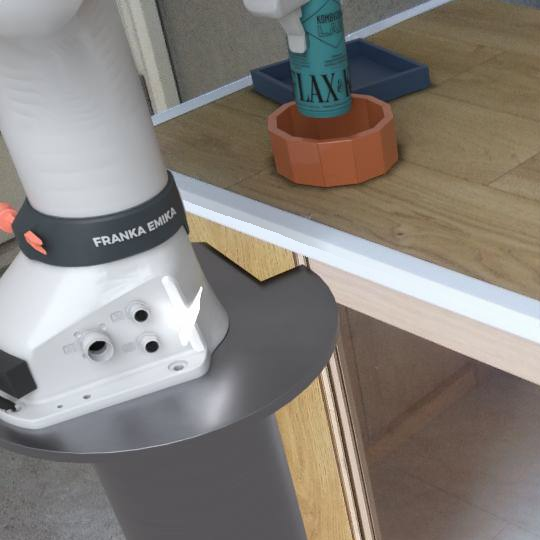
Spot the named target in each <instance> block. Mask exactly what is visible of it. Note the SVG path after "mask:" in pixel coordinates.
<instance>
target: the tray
mask: <svg viewBox="0 0 540 540" xmlns="http://www.w3.org/2000/svg"><path fill="white" fill-rule="evenodd" d="M345 44H346V51H347V52H346V53H348V54H347V62H348V66H349V67H350V69H349V67H348V71H349V80H350V76H351V82H350V87H351V86H352V89H351V91H352V93H351V94H361V95H370V96H373V97H375V98H377V99H379V100H381V101H384V102H386V103H387V102H389V101H392V100H394V99H398V98H400V97H403V96H406V95H409V94H412V93H415V92H418V91H421V90H424V89H426V88H430V87H431V80H430V79H431V77H430V68H429V66H428V65H427V64H424V63H422V62H419V61H417V60H414V59H412V58H410V57H407V56H406V55H403V54H401V53H398V52H395V51H393V50H391V49H389V48H386V47H383V46H381V45H379V44H376V43H373V42H371V41H369V40H367V39H364V38H362V37H357V38H354V39H350V40H347V41H345ZM289 64H290V60H289V59H288V58H286V59H283V60H280V61H277V62H274V63H270V64H267V65H266V64H265V65H264V66H263V65H262V66H260V67H256V68H253V69H250V70H249V72H250V77H251V82H252V86H253V90H254V92H257V93H258V94H260V95H262V96H264V97H266V98H268V99H270V100H272V101H273V102H276V103H278V104H279V105H280V106H282V105H284V104H286V103H289V102H292V101H294V100H295V97H294V95H293V94H294V93H293V91H292V90H293V86H292V84H291V83H292V79H291V73H290V69H291V67H290V66H289Z"/></svg>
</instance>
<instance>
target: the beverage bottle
mask: <svg viewBox="0 0 540 540" xmlns="http://www.w3.org/2000/svg"><path fill="white" fill-rule="evenodd" d="M301 11H302V17H301V18H299V19H300V21H301V24H302V26H303V29H304V31H305V32H308V34H309V41H310V48H309V49H308V50H307V51H305V52H304V53H296V52H292V51H291V50H290V48H289V43H288V37H287V34H286V33H285V39H284V40H285V41H286V42H285V44H286V47H287V48H285V49H286V51H287V52H286V56H287V55H288V56H287V59H289V60H290V64H289V66H290V67H291V69H290V73H291V79H292V83H291V84H292V86H293V90H292V91H293V93H294V94H293V95H294V97H295V100H294V101H296V106H297V108H298V111H299V112H300V113H301V114H302V115H305V116H308V117H314V118H329V117H335V116H339V115H342V114H345V113H347V112H348V111H349V110H350V109H351V105H352V102H353V101H352V98H353V96H352V97H351V93H352V91H351V89H352V86H351V87H350V82H351V76H350V80H349V71H348V67H349V66H348V62H347V54H348V53H346V52H347V51H346V44H345V42H346V35H345V28H346V27H345V25H344V18H345V17H344V14H343V13H344V11H343V6H342V9H341V2H340V0H311V1H309V2H307V3H306V4H304V5H303V6H301ZM349 69H350V67H349ZM294 104H295V103H294Z"/></svg>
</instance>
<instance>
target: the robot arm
mask: <svg viewBox="0 0 540 540" xmlns="http://www.w3.org/2000/svg"><path fill="white" fill-rule="evenodd" d="M309 1H311V0H242V3H243V5H244V7H245V9H246V10H247V11H248V13H249V15H250V16H252V17H254V18H257V19H258V18H259V19H267V20H268V19H269V20H277V21H278V22H279V24H280V26H281V27H282V29H283V31H284V32H285V35H286V34H287V37H288V43H289V48H290V50H291V51H292V52H296V53H304V52H305V51H307V50H308V49H309V48H310V41H309V34H308V32H305V31H304V29H303V26H302V24H301V21H300V19H299V18H301V17H302V11H301V6H303V5H304V4H306V3H307V2H309ZM340 2H341V9H342V10H343V8H342V7H343V3H344V0H340ZM118 6H119V5H118V3H117V0H0V133H1V136H2V138H3V141H4V143H5V146H6V148H7V150H8V153H9V156H10V158H11V161H12V163H13V167H14V168H15V171H16V173H17V175H18V178H19V181H20V183H21V185H22V188H23V190H24V193H25V198H24V200H23V202H22V205H21V207H20V208H19V210H16V209H15V207H13V206H12V205H11V204H9V203H8V202H4V201H3V202H2V201H0V230H1V231H2V232H4V233H7V234H13V236H14V238H15V240H16V242H17V245H18V248H19V249H20V251H19V252H18V254H17V255H16V256H15V258H14V259H13V260H12V262H11V264H10V265H9V266H8V267H7V269H6V270H5V272H4V273H3V274H2V276H1V277H0V419H2V420H3V421H5V422H7V423H10V424H12V425H15V426H18V427H22V428H27V429H41V428H45V427H48V426H51V425H55V424H58V423H61V422H64V421H67V420H70V419H73V418H76V417H79V416H82V415H85V414H88V413H92V412H95V411H98V410H101V409H104V408H107V407H110V406H113V405H116V404H119V403H122V402H125V401H128V400H131V399H135V398H138V397H141V396H144V395H147V394H150V393H153V392H156V391H159V390H162V389H165V388H168V387H171V386H175V385H178V384H181V383H184V382H187V381H190V380H193V379H196V378H199V377H201V376H203V375H204V374H206V373H207V371H208V370H209V367H210V362H211V355H212V353H213V351H214V350H215V349H216V347H217V346H218V345H219V344H220V343H221V341H222V340H223V339H224V337H225V335H226V333H227V331H228V327H229V317H228V314H227V312H226V310H225V309H224V307H223V306H222V304H221V303H220V302H219V300H218V298H217V297H216V295H215V294H214V292H213V290H212V288H211V286H210V285H209V283H208V281H207V279H206V277H205V275H204V273H203V271H202V268H201V266H200V264H199V262H198V259H197V257H196V255H195V252H194V250H193V247H192V245H191V242H192V241H191V240H190V236H189V235H190V226H189V224H188V223H189V222H188V219H187V218H188V217H187V216H188V215H187V211H186V208H185V207H186V206H185V205H184V200H183V198H182V195H181V192H180V190H179V187H178V185H177V183H176V180H175V176H174V174H173V172H172V171H171V170H169V169H167V166H166V163H165V159H164V156H163V153H162V149H161V146H160V144H159V139H158V136H157V132H156V129H155V126H154V121H153V118H152V115H151V112H150V108H149V104H148V101H147V98H146V94H145V91H144V88H143V87H144V86H143V84H142V81H141V78H140V77H141V76H140V74H139V71H138V68H137V65H136V62H135V59H134V56H133V52H132V49H131V46H130V42H129V39H128V35H127V33H126V30H125V27H124V23H123V19H122V17H121V14H120V13H121V12H120V9H119V7H118Z"/></svg>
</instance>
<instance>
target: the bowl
mask: <svg viewBox="0 0 540 540" xmlns="http://www.w3.org/2000/svg"><path fill="white" fill-rule="evenodd" d="M352 96H353V98H352V101H353V102H352V105H351V109H350V110H349V111H348V112H347V113H345V114H342V115H339V116H335V117H329V118H314V117H308V116H305V115H302V114H301V113H300V112H299V111H298V108H297V106H296V101H292V102H289V103H286V104H284V105H280V106H279V107H278V108H277V109H275V111H273V112H271V114H269V115H268V116H267V129H268V130H267V131H268V135H269V140H270V146H271V149H272V154H273V159H274V163H275V167H276V173H277V174H278V175H280V176H282V177H283V178H285V179H286V180H288V181H291V182H292V183H294V184H297V185H305V186H313V187H319V188H320V187H321V188H331V187H332V188H333V187H340V186H348V185H358V184H362V183H365V182H367V181H370V180H372V179H375V178H377V177H380V176H383V175H385V174H387V173H388V171H389V170H390V169H391V168H392V167H393V166H394V165H395V164H396V163H397V162H398V161H399V158H400V157H399V152H398V143H397V135H396V133H397V132H396V127H395V126H396V125H395V117H394V114H393V110H392V107H391V104H390V103H387V101H386V102H384V101H381V100H379V99H377V98H375V97H373V96H370V95H361V94H351V97H352ZM294 103H295V104H294Z"/></svg>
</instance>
